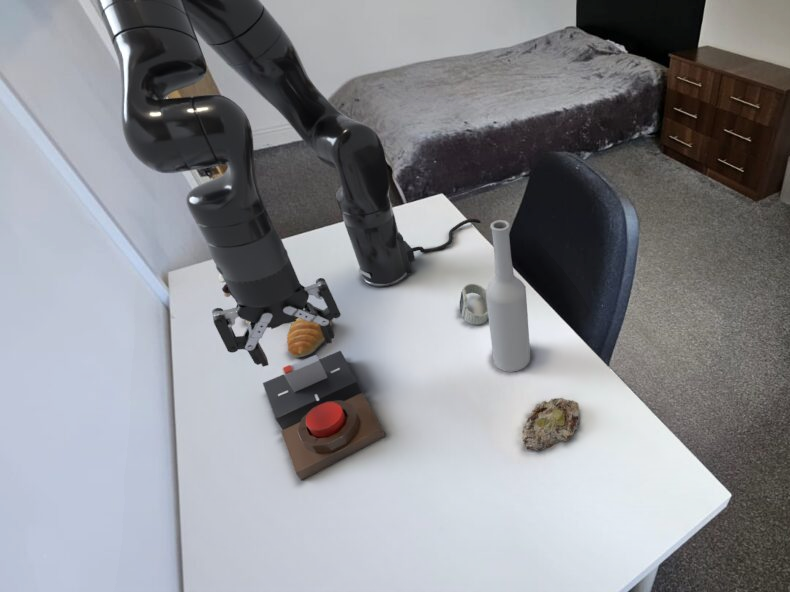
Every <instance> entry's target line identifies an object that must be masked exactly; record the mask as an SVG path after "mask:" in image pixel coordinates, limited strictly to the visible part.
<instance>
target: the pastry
mask: <svg viewBox="0 0 790 592" xmlns="http://www.w3.org/2000/svg"><path fill="white" fill-rule="evenodd" d="M333 322H334V321H333V319H332V320H331V321H330V325H331V327H332V326H333ZM286 340H287V341H286V343H287V351H288V352H289V353H290V355H291V356H292V357H293V358H302V357H305V356H309V355H312V354H314V352H316V351H317V350H318V348H319V347H320V346H322V345H323V344H324V343H325V342H326V341H325V338H324V336H323V333H322V331H321V329H320V326H319V324H317V323H314V322H308V321H305V320H303V319H300V318H297V319H296V321H295V322H292V323H291V326H290V327H289V330H288V333H287V337H286Z"/></svg>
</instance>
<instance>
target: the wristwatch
mask: <svg viewBox="0 0 790 592" xmlns="http://www.w3.org/2000/svg"><path fill="white" fill-rule="evenodd" d="M469 294H475V295H478V296H480V297H481V298H482V300H484V302H485V310H486V311H485V312H484V314H483V313H482V314H475V313H473V312H471V311H470V309H469V308H468V296H467V295H469ZM459 311H460V316H461V317H462V318H463V319H464V320H465V322H467V323H469V324H471V325H476V326H477V325H478V326H479V325H482V324H484V323H486V322H487V321H488V320H489V317H488V308H487V300H486V288H485V287H483V286H482V285H479V284H477V283H467V284H465V285H464V287H463V288H462V289H461V292H460V297H459Z"/></svg>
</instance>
